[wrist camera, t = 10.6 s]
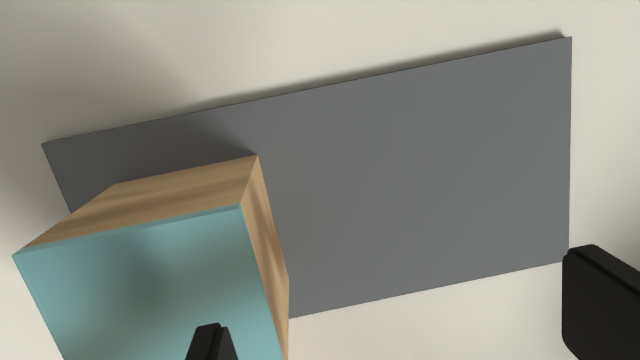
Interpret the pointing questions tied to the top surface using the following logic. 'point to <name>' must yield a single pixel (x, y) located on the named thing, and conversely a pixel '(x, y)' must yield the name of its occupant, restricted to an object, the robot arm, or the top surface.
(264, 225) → the oak block
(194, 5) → the top surface
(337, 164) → the rubber mat
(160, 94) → the top surface
